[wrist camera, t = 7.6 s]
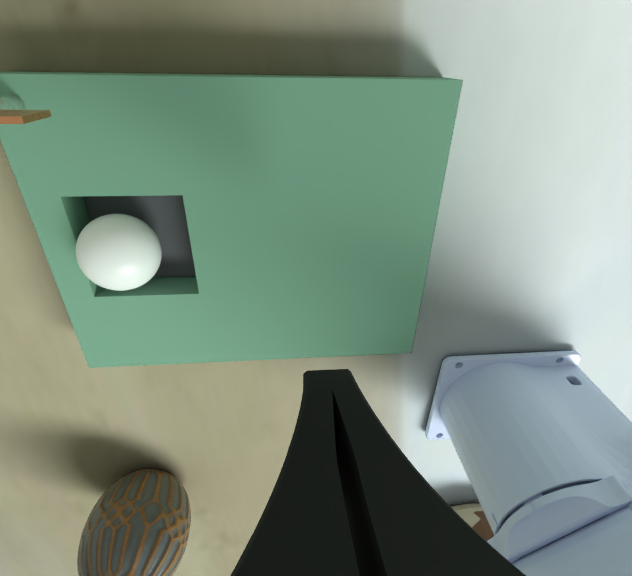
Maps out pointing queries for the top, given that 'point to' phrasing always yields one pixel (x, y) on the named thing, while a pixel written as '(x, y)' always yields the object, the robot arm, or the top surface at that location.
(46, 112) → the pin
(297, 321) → the board
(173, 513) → the vase
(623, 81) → the top surface
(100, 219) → the ball
